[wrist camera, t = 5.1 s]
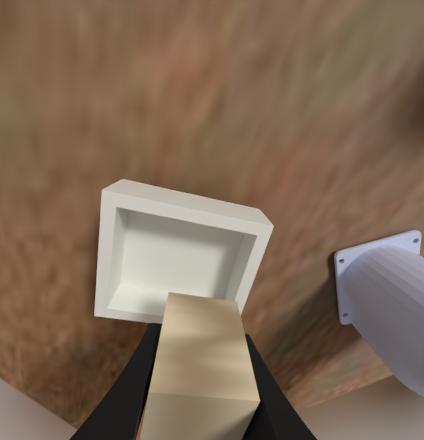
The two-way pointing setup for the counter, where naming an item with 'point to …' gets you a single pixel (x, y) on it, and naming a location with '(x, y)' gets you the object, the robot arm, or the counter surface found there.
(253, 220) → the white open storage bin
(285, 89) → the counter surface
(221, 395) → the block
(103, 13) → the counter surface
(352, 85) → the counter surface
